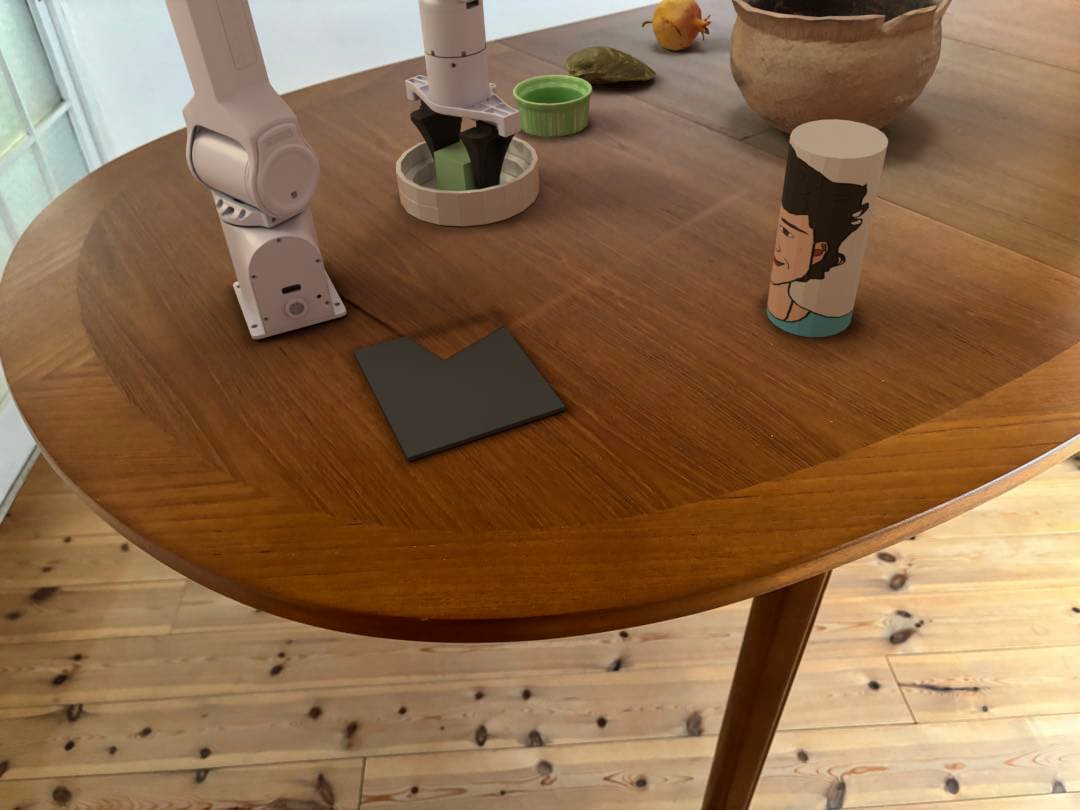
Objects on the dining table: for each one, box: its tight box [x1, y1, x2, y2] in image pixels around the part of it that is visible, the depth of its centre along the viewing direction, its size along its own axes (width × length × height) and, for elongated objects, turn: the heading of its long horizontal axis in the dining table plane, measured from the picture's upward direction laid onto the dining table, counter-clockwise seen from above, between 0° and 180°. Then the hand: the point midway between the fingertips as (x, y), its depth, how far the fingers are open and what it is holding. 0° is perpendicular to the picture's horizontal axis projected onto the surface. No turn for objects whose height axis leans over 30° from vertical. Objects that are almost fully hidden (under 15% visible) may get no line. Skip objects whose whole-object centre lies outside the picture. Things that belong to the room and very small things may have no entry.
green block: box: [434, 141, 500, 191], centre depth 92 cm, size 4×4×4 cm
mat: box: [353, 325, 566, 462], centre depth 70 cm, size 14×12×1 cm
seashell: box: [564, 45, 657, 85], centre depth 115 cm, size 10×7×10 cm
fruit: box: [641, 0, 712, 52], centre depth 123 cm, size 7×7×10 cm
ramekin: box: [512, 74, 593, 138], centre depth 105 cm, size 9×9×4 cm
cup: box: [766, 119, 889, 338], centre depth 70 cm, size 7×7×15 cm
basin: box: [395, 136, 540, 227], centre depth 92 cm, size 14×14×4 cm
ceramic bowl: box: [729, 0, 953, 136], centre depth 98 cm, size 22×22×15 cm
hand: (469, 184), depth 92 cm, fingers open, 5 cm apart
